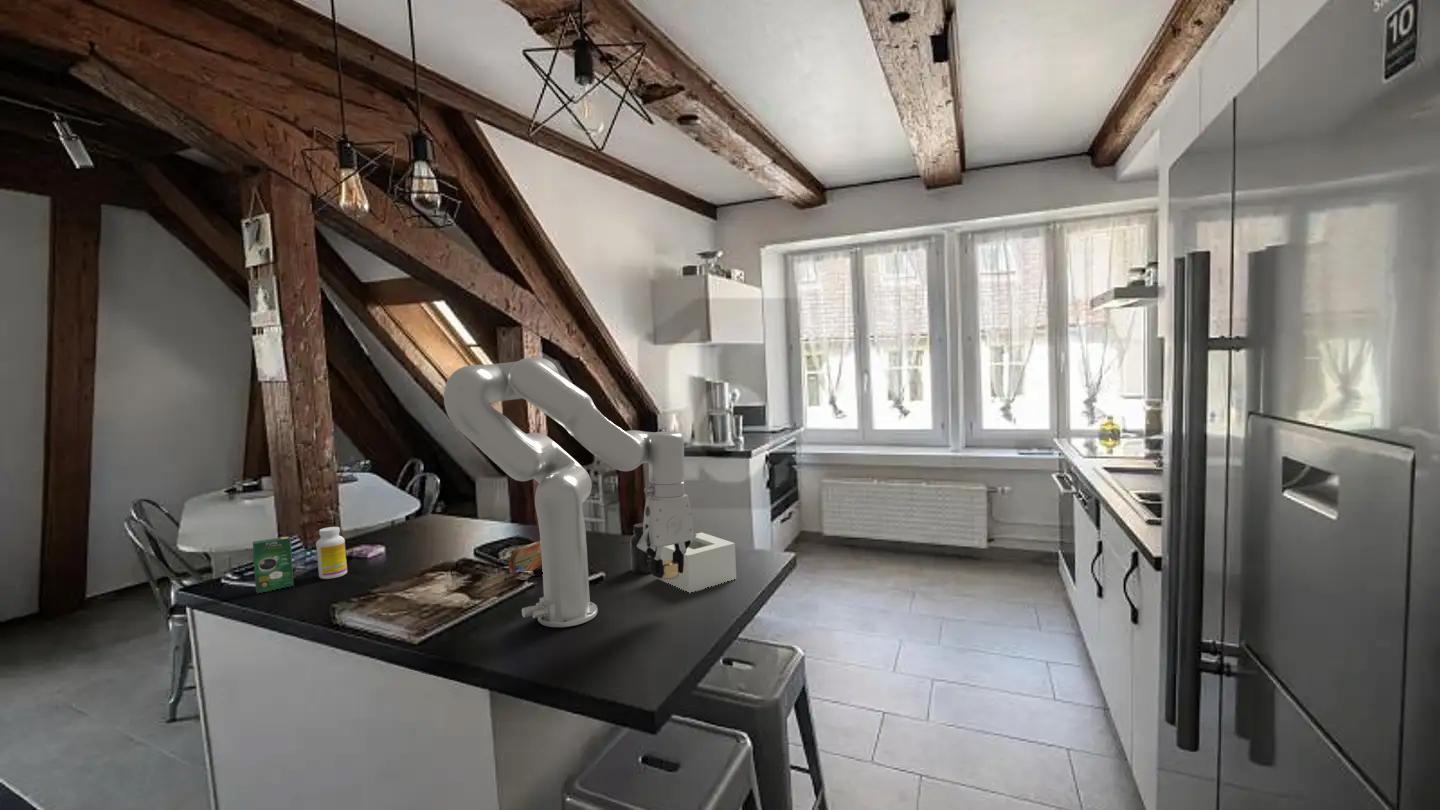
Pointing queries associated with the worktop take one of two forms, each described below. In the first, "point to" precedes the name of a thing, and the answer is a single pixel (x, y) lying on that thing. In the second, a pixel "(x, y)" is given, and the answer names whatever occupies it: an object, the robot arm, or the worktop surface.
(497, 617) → the worktop surface
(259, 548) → the coffee box
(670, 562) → the gold short cylinder
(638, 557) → the supplement bottle
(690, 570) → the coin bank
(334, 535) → the supplement bottle
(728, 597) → the worktop surface
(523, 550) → the tin
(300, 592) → the worktop surface
